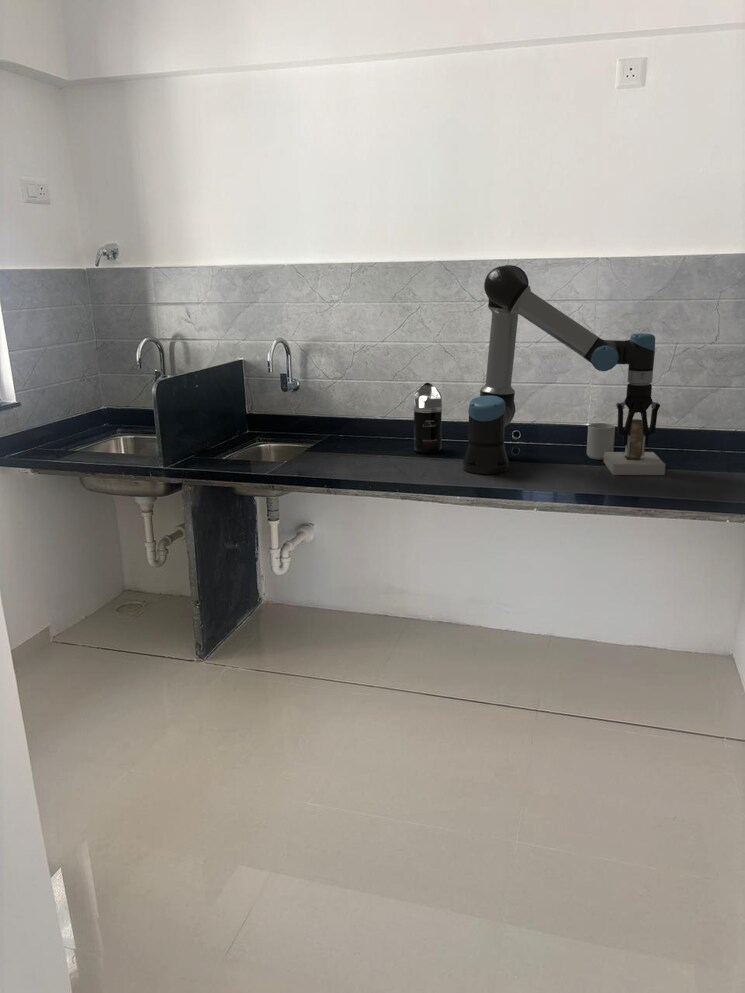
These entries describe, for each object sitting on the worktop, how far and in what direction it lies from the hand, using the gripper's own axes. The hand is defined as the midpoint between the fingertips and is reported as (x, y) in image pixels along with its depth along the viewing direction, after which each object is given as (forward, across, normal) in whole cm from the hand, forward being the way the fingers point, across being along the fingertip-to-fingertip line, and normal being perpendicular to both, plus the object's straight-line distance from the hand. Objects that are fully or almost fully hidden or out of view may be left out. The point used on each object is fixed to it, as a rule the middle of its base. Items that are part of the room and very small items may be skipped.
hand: (634, 454), depth 255 cm
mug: (+5, -8, +16) cm, 19 cm away
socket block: (+5, 0, 0) cm, 5 cm away
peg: (+3, 0, 0) cm, 3 cm away
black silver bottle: (+5, -68, +23) cm, 72 cm away
